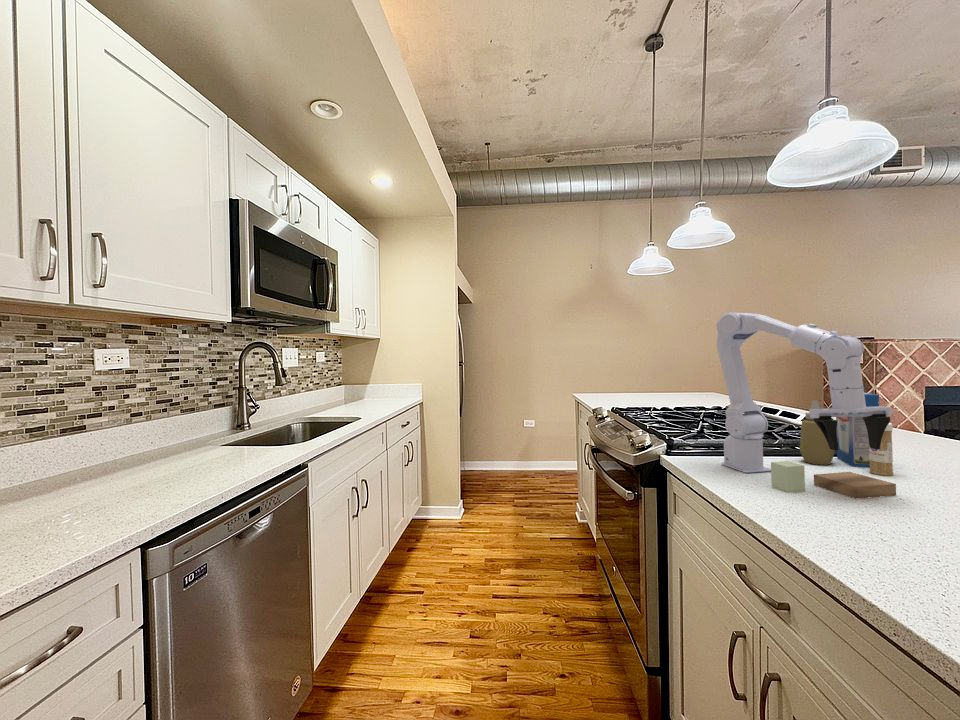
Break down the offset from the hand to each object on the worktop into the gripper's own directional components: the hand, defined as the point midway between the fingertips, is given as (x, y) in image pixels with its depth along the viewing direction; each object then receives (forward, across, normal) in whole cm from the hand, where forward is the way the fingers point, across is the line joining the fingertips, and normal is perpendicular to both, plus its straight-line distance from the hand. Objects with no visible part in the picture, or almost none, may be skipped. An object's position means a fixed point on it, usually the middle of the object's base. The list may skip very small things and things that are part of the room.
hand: (854, 449), depth 92 cm
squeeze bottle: (+9, +5, +30) cm, 32 cm away
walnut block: (+10, +1, +4) cm, 11 cm away
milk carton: (+9, +16, +31) cm, 36 cm away
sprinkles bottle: (+10, +15, +20) cm, 27 cm away
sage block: (+10, -13, +3) cm, 16 cm away
